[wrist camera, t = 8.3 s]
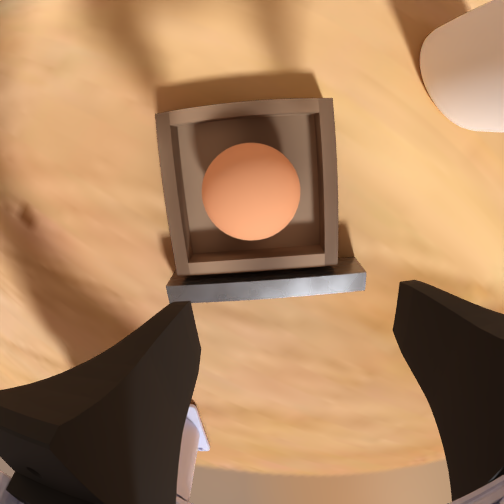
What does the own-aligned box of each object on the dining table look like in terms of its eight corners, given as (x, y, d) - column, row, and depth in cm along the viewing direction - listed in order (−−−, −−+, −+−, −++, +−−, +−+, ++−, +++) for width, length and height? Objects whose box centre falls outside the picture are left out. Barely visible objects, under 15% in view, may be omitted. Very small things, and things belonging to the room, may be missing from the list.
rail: (178, 285, 20) (169, 303, 18) (175, 269, 20) (165, 286, 18) (353, 273, 20) (364, 290, 18) (354, 257, 20) (366, 272, 17)
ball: (214, 229, 19) (201, 259, 14) (204, 148, 17) (186, 148, 12) (295, 222, 18) (310, 249, 14) (290, 140, 17) (304, 138, 12)
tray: (184, 263, 20) (177, 276, 18) (165, 116, 17) (155, 114, 15) (330, 253, 19) (337, 265, 18) (324, 102, 16) (332, 98, 14)
